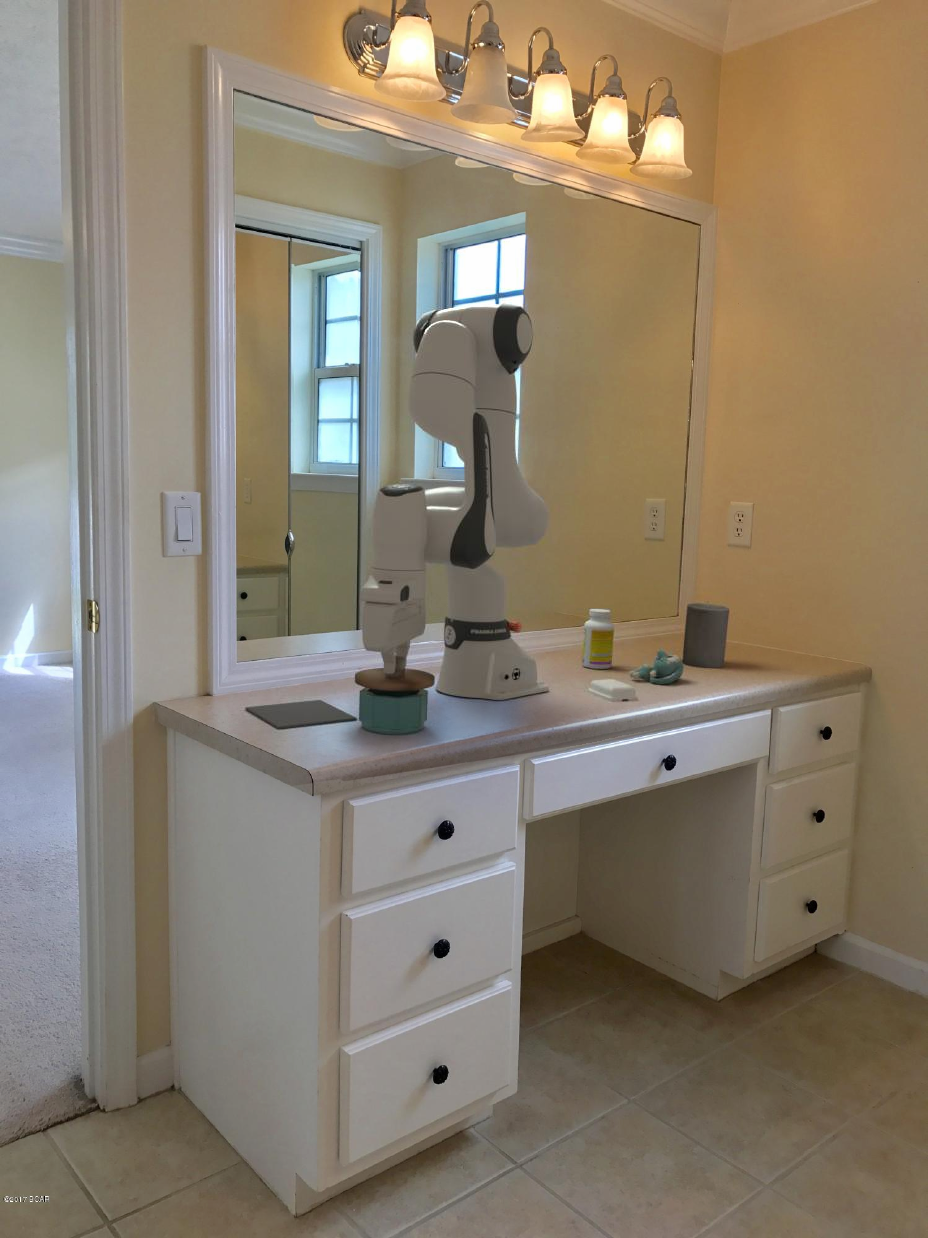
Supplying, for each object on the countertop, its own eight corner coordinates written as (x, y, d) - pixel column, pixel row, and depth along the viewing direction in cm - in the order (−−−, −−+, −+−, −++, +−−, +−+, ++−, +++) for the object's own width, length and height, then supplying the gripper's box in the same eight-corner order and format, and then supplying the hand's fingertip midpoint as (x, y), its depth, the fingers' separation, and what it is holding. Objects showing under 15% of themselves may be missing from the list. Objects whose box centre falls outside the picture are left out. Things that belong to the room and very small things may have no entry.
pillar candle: (673, 662, 229) (678, 599, 226) (697, 658, 235) (703, 596, 233) (708, 670, 222) (714, 605, 219) (732, 665, 228) (738, 602, 226)
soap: (639, 701, 188) (640, 686, 188) (610, 703, 185) (611, 688, 185) (613, 691, 196) (614, 677, 196) (584, 693, 193) (585, 678, 193)
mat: (320, 702, 175) (320, 699, 175) (356, 720, 163) (356, 717, 163) (245, 709, 167) (245, 707, 167) (278, 729, 155) (278, 726, 155)
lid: (408, 671, 168) (409, 648, 168) (449, 686, 158) (450, 662, 157) (340, 677, 161) (341, 653, 160) (379, 694, 150) (380, 668, 150)
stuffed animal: (618, 651, 210) (667, 640, 213) (621, 683, 211) (670, 672, 214) (641, 661, 200) (693, 649, 203) (645, 694, 201) (696, 682, 204)
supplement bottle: (617, 668, 218) (621, 611, 216) (595, 670, 215) (599, 613, 213) (597, 663, 224) (601, 607, 222) (575, 665, 220) (579, 608, 218)
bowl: (404, 715, 167) (405, 681, 167) (436, 730, 159) (438, 694, 158) (349, 722, 162) (350, 686, 161) (380, 737, 153) (381, 700, 152)
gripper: (401, 578, 168) (398, 657, 170) (355, 591, 148) (353, 680, 150) (436, 581, 166) (433, 661, 168) (394, 594, 146) (391, 684, 148)
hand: (394, 670), depth 159 cm, fingers closed on lid, 3 cm apart
